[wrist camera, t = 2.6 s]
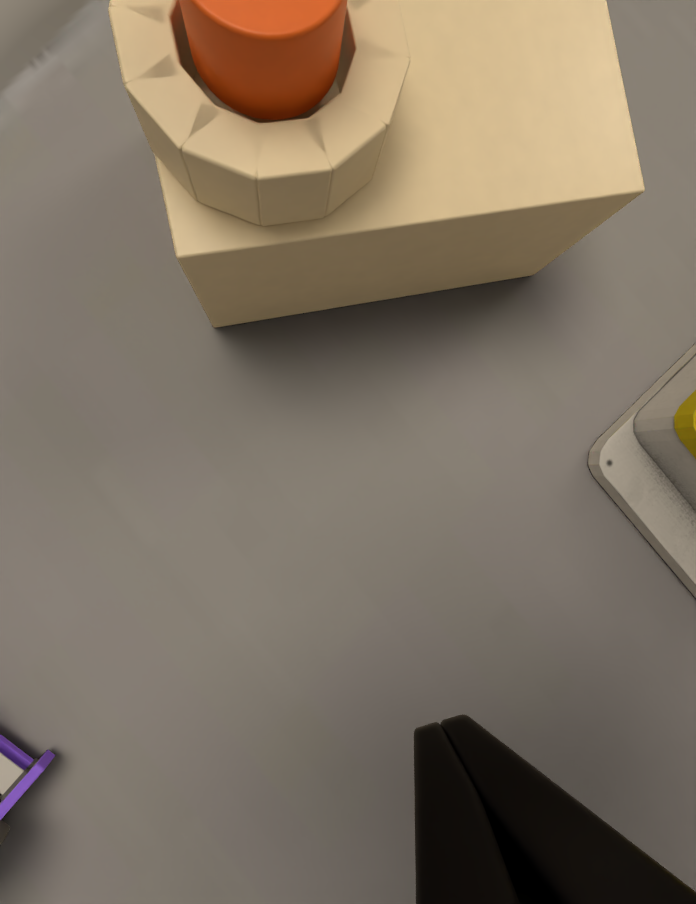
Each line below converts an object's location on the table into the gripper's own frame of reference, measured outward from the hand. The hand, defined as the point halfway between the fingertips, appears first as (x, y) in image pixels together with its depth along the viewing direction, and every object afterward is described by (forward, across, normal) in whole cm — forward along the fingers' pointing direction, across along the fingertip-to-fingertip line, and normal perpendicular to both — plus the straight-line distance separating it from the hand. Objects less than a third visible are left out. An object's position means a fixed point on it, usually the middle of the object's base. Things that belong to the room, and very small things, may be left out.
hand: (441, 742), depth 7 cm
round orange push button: (+6, 0, -12) cm, 14 cm away
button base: (+14, -4, -11) cm, 18 cm away
